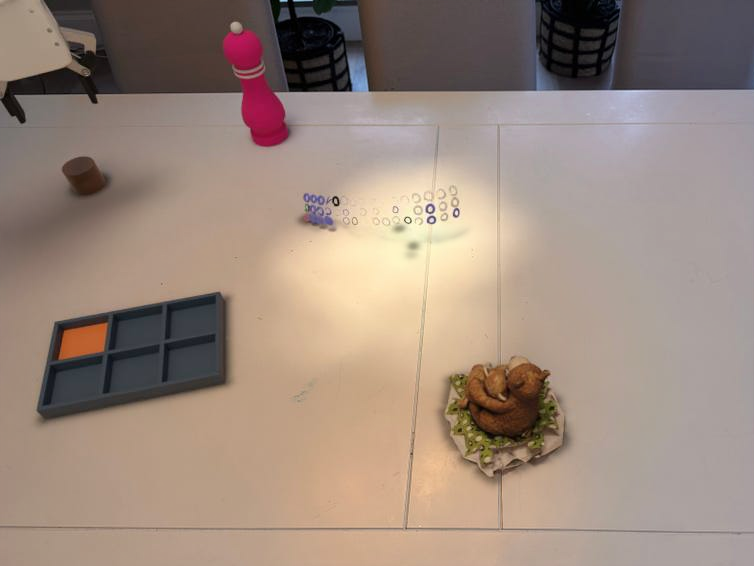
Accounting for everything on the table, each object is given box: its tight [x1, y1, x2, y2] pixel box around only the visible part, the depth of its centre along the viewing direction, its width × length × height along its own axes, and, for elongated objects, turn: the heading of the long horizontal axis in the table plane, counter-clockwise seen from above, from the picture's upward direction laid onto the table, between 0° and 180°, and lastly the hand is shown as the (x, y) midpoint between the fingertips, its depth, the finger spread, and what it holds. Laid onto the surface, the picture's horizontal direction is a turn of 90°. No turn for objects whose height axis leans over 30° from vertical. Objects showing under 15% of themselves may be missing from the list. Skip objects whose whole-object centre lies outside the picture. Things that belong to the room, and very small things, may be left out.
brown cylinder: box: [61, 156, 106, 196], centre depth 110 cm, size 5×5×4 cm
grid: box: [36, 291, 226, 420], centre depth 88 cm, size 15×22×2 cm
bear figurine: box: [443, 355, 566, 478], centre depth 77 cm, size 14×15×12 cm
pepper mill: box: [222, 21, 289, 147], centre depth 111 cm, size 7×7×20 cm
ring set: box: [302, 177, 461, 243], centre depth 99 cm, size 25×12×12 cm, turn 72°
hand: (59, 108), depth 95 cm, fingers open, 9 cm apart
